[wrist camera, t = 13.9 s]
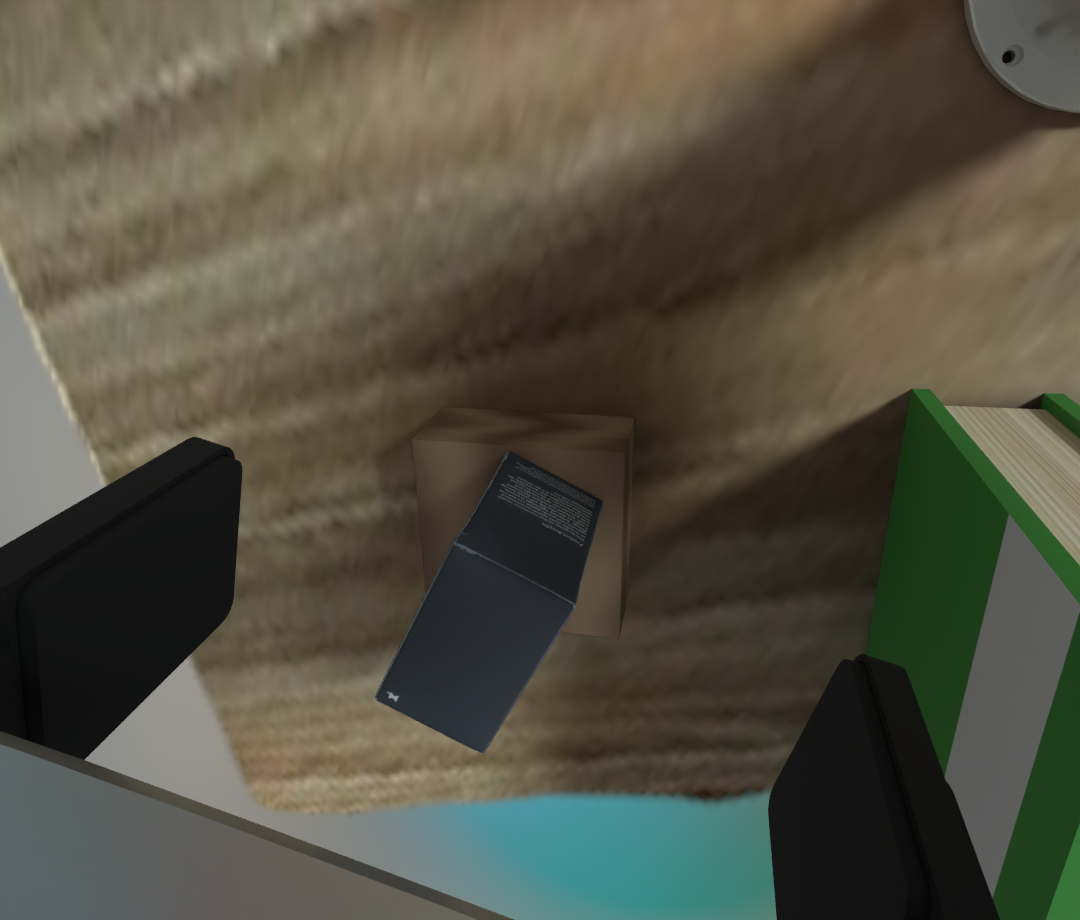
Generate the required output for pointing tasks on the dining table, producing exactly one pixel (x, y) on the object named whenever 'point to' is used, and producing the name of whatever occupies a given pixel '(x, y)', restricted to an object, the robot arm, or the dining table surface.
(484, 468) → the walnut block
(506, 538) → the small box
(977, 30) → the robot arm
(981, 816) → the hardback book
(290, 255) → the dining table surface
